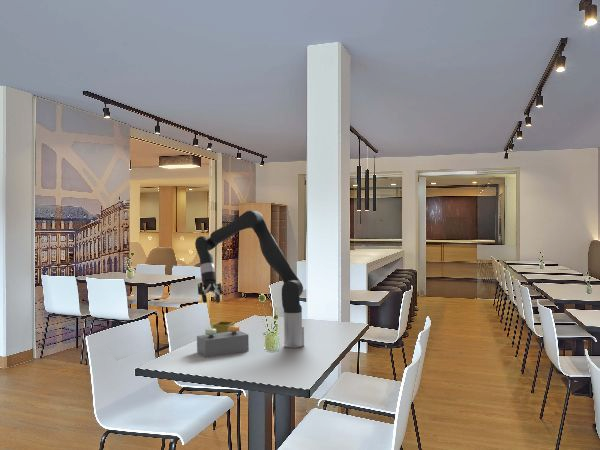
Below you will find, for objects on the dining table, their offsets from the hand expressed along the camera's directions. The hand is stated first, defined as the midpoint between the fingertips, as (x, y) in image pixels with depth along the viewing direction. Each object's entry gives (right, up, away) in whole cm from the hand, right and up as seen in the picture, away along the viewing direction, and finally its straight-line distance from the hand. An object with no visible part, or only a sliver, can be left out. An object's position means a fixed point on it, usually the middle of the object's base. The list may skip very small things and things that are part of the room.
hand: (211, 302), depth 250 cm
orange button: (+13, -13, -13) cm, 23 cm away
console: (+8, -21, -16) cm, 28 cm away
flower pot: (+5, -22, +9) cm, 24 cm away
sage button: (+3, -13, -19) cm, 24 cm away
